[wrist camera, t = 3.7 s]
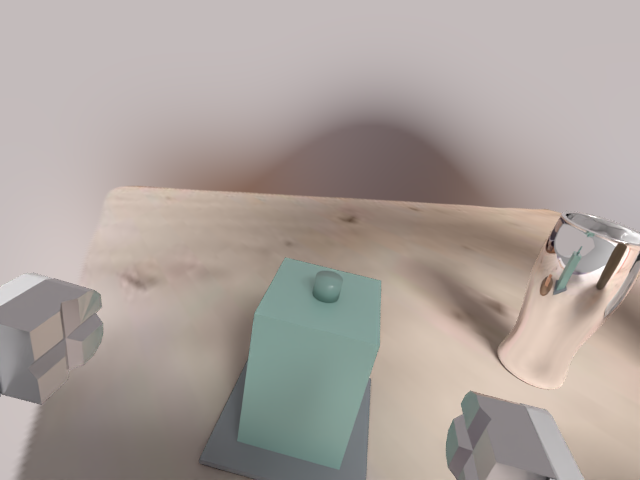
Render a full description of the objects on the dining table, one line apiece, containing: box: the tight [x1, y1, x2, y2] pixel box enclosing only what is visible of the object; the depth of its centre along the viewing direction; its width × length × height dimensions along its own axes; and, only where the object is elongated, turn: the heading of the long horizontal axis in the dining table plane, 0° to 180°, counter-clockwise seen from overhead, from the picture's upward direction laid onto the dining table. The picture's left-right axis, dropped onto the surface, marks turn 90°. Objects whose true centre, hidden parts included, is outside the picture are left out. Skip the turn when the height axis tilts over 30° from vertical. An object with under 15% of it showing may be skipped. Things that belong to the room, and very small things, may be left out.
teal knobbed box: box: [237, 257, 381, 470], centre depth 24 cm, size 7×7×11 cm
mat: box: [199, 360, 371, 480], centre depth 26 cm, size 10×10×1 cm
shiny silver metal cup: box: [497, 211, 640, 390], centre depth 33 cm, size 7×7×15 cm
